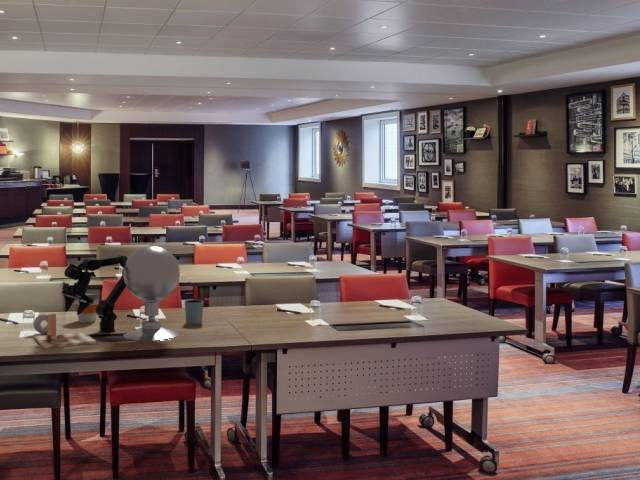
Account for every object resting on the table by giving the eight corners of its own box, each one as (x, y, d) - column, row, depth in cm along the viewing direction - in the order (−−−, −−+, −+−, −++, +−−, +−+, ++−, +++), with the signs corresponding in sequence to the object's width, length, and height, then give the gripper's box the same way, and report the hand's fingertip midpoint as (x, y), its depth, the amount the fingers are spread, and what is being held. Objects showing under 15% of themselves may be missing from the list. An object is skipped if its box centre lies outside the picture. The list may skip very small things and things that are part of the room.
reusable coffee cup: (95, 323, 450) (95, 295, 449) (72, 322, 451) (72, 295, 449) (102, 319, 463) (102, 292, 461) (79, 318, 463) (79, 291, 462)
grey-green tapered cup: (205, 321, 463) (205, 299, 462) (200, 325, 453) (201, 303, 452) (187, 320, 464) (187, 299, 463) (182, 324, 454) (182, 302, 453)
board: (83, 334, 422) (83, 326, 422) (96, 343, 404) (96, 334, 403) (34, 338, 410) (34, 330, 410) (44, 348, 391) (44, 339, 391)
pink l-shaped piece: (68, 339, 403) (68, 316, 402) (58, 341, 399) (58, 317, 398) (54, 336, 410) (53, 312, 409) (44, 337, 406) (43, 314, 405)
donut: (33, 334, 419) (33, 315, 418) (33, 333, 422) (33, 313, 421) (54, 333, 423) (54, 313, 422) (54, 332, 426) (53, 312, 425)
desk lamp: (124, 341, 408) (124, 249, 404) (122, 330, 435) (122, 243, 431) (182, 339, 416) (182, 248, 411) (176, 328, 442) (176, 243, 438)
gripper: (81, 283, 431) (70, 313, 428) (58, 274, 415) (47, 305, 412) (98, 288, 427) (88, 318, 424) (76, 279, 410) (65, 310, 407)
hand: (72, 313), depth 417 cm, fingers open, 9 cm apart
